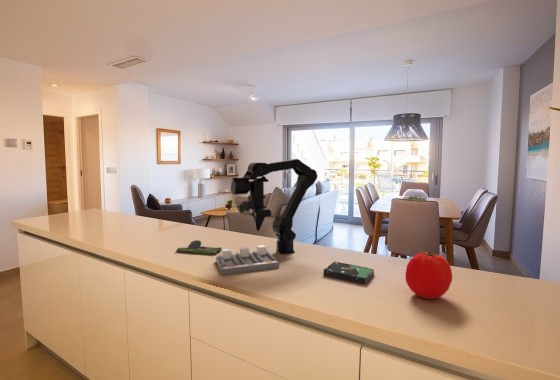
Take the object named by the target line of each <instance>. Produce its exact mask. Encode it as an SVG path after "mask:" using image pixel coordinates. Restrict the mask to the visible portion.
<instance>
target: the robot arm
mask: <svg viewBox="0 0 560 380" xmlns="http://www.w3.org/2000/svg"><path fill="white" fill-rule="evenodd" d="M286 170H293V171H294V173H295V174H296V175H297V177H296V178H297V179H296V187H295V189H294V191H293V193H292V195H291V196H290V198H289V200H288V203H287V204H286V206H285V207H284V208H285V209H284V210H283V212H282V214H281V215H278V214H276V215H275V218H274V220H273V221H272V223H271V224H272V231H273V232H274V234H275V235H276V237H277V240H276V251H277V252H278V253H279V254H281V255H283V254H285V255H286V254H292V253H295V250H294V240H295V239H296V236H297V234H296V233H295V232H294V230H292V228H293V224H294V223H293V222H294V220H293V219H294V216H295V215H296V212H297V211H298V208H299V206H300V204H301V203H302V201H303V198H304V196H305V194H306V193H307V190H309V188H311V186H313V185H314V183H315V182H316V181H317V179H318V176H319V175H318V173H317V171H316V170H315V169H314V168H311V167H310V166H309V165H307V164H305V163H304V162H303V161H302V160H300V159H299V158H292V159H288V160H281V161H275V162H251V163H249V165H248V166H247V170H246V172H245V173H244V175H243V176H242V177H232V181H231V183H230V191H231V192H230V193H231V195H234V196H235V195H246V194H248V193H249V195H248V196H247V199H245V200H243V201H241V202H238V203H237V204H235V206H236V209H237V211H238V212H239V213H244V212H248V211H249V212H250V213H248V215H250V217H251V218H252V219H253V220H252V221H253V223H254V224H253V225H254V227H255V230H256V231H258V232H259V231H260V229H261V227H262V225H263V223H264V221H265V219H266V218H268V217H272V211H271V210H270V209H269V208H268V207H267V206H266V205H265V199H266V195H265V184H264V183H268V182H270V181H269V179H267V178H266V176H267V175H269V174H271V173H273V172H274V173H275V172H279V171H286Z"/></svg>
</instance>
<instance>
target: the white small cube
mask: <svg viewBox="0 0 560 380" xmlns="http://www.w3.org/2000/svg"><path fill="white" fill-rule="evenodd" d="M249 252H250V248H249V247H248V246H241V247H239V254H240V256H241V257H249Z"/></svg>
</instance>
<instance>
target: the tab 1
mask: <svg viewBox="0 0 560 380" xmlns="http://www.w3.org/2000/svg"><path fill="white" fill-rule="evenodd" d="M231 253H232V250H231V249H230V248H223V249H222V251H221V256H222V258H223V260H224V259H231Z"/></svg>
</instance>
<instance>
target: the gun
mask: <svg viewBox="0 0 560 380" xmlns="http://www.w3.org/2000/svg"><path fill="white" fill-rule="evenodd" d="M201 245H202V241H201V240H197V239H195V240H192V241H191V242H190V243H189V244H188V247H177V248H176V250H175V252H177V253H181V254H189V255H191V254H192V255H204V256H216V255H218V253H222V248H223V247H221V246H220V247H214V246H213V247H211V246H201Z"/></svg>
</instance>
